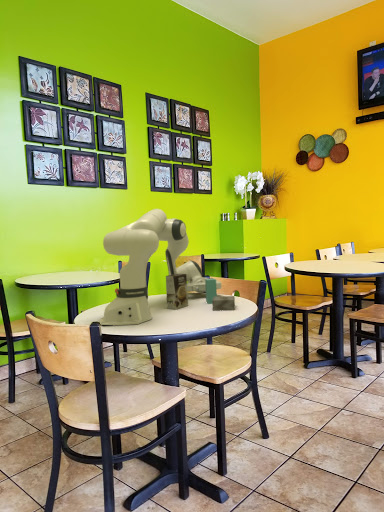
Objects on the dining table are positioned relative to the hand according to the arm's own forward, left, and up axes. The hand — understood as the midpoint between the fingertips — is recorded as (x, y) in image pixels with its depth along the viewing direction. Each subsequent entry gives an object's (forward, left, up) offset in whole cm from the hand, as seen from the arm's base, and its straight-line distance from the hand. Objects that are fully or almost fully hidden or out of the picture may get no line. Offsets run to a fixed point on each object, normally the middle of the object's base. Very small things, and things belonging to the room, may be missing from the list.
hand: (206, 288), depth 210 cm
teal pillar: (0, -9, -6) cm, 11 cm away
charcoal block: (+2, -24, -7) cm, 25 cm away
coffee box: (-18, -12, -6) cm, 23 cm away
